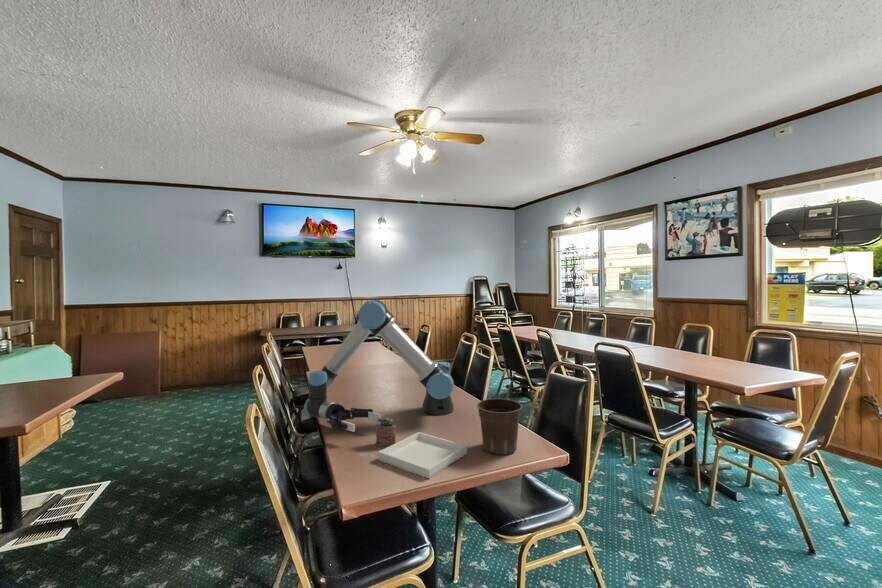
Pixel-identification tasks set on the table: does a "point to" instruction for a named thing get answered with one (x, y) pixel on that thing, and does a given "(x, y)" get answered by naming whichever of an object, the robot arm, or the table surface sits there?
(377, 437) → the lighter
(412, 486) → the table surface
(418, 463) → the tray
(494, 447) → the plant pot
